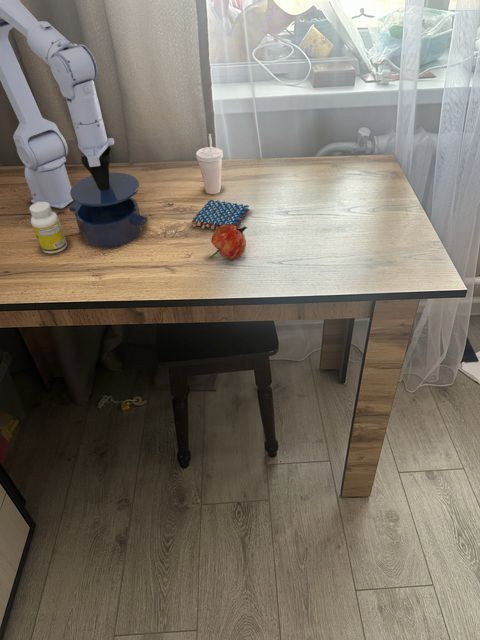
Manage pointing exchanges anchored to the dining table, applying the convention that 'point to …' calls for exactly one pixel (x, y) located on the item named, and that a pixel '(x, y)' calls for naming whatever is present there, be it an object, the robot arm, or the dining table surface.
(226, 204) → the woven mat
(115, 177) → the pan lid
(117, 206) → the pan
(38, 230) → the supplement bottle
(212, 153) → the smoothie
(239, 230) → the pomegranate
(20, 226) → the dining table surface
